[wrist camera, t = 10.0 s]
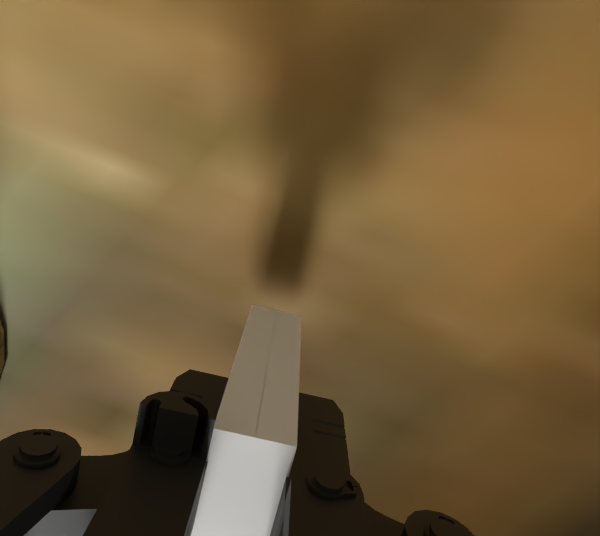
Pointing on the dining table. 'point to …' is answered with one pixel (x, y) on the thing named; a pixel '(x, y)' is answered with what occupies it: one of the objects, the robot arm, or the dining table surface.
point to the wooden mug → (1, 348)
